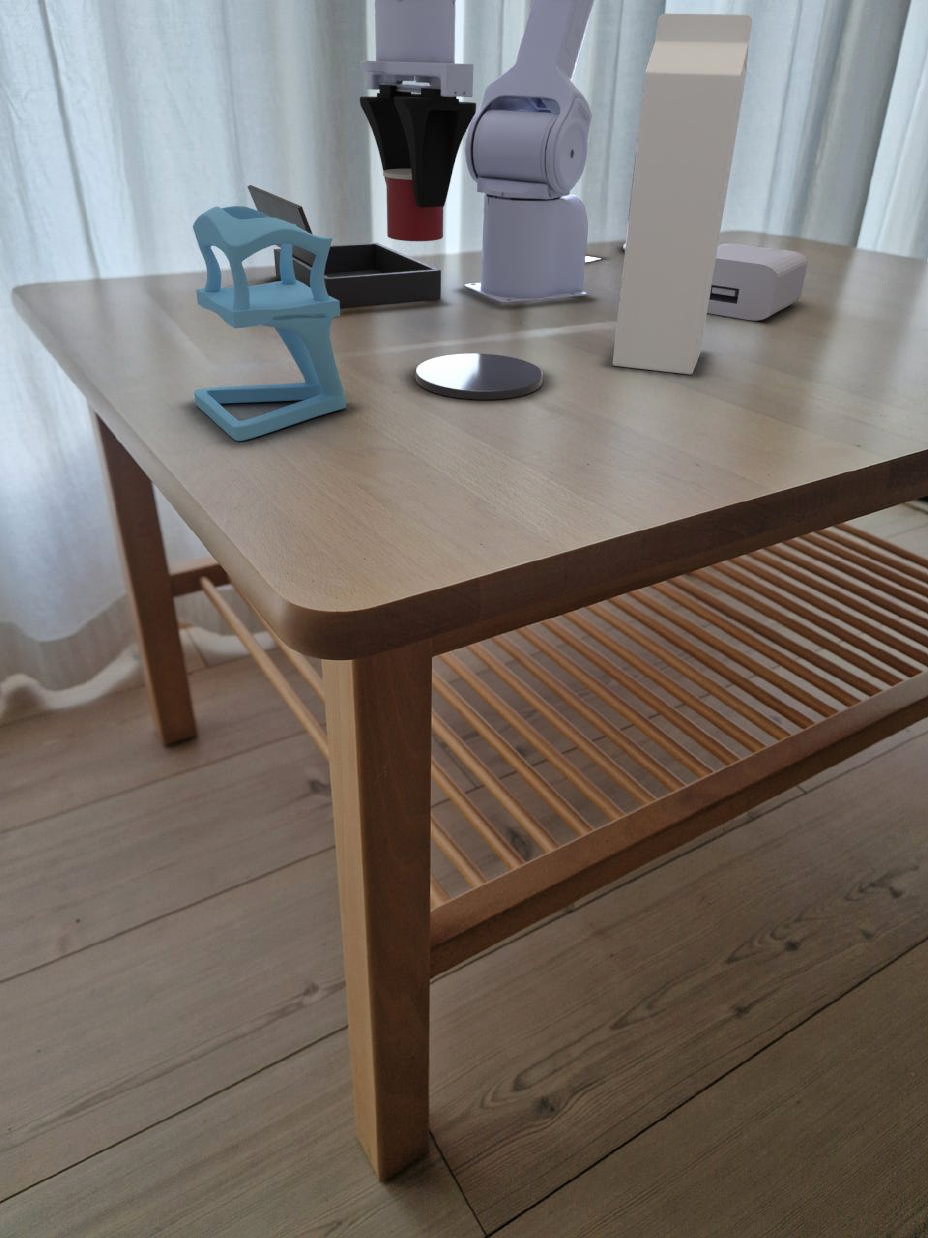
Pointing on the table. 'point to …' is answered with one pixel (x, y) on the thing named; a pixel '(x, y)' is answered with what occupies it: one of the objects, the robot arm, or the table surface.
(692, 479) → the table surface
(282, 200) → the flap
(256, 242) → the chair
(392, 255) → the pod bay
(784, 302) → the charger
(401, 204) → the cylinder
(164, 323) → the table surface
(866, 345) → the table surface
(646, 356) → the milk
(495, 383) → the coaster
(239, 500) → the table surface
